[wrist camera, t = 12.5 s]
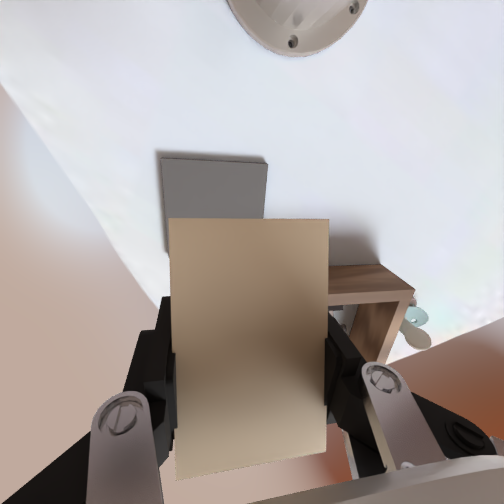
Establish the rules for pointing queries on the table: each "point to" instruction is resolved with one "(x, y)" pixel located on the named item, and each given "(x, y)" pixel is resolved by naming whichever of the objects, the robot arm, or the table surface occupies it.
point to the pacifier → (408, 328)
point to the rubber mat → (213, 189)
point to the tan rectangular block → (248, 340)
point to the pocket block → (371, 305)
